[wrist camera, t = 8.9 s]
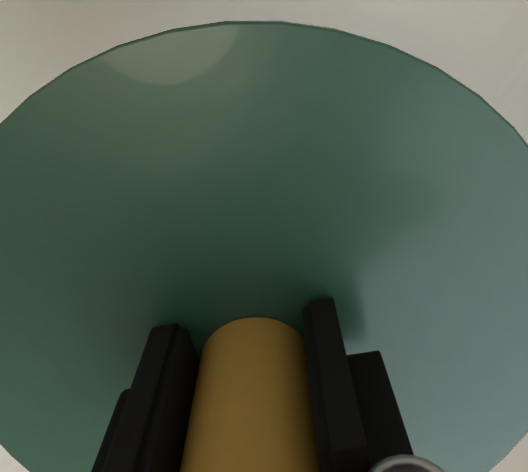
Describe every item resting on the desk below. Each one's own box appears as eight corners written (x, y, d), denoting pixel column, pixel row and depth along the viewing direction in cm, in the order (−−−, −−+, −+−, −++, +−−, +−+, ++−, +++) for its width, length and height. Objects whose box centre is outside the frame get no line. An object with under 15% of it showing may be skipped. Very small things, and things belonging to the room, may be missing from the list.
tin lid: (577, -62, 8) (1127, -178, 3) (538, 483, 14) (696, 761, 9) (-166, 104, 10) (-697, 228, 4) (88, 539, 16) (-2, 811, 10)
